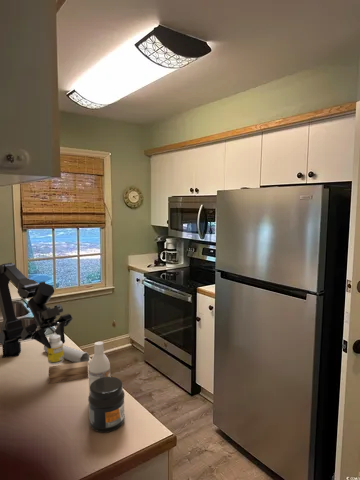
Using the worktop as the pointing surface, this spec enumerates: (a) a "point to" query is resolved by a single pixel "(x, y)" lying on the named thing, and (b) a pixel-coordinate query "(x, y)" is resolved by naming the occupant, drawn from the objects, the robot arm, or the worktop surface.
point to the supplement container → (106, 404)
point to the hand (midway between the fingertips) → (57, 345)
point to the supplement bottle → (55, 350)
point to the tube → (73, 354)
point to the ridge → (68, 372)
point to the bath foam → (98, 364)
